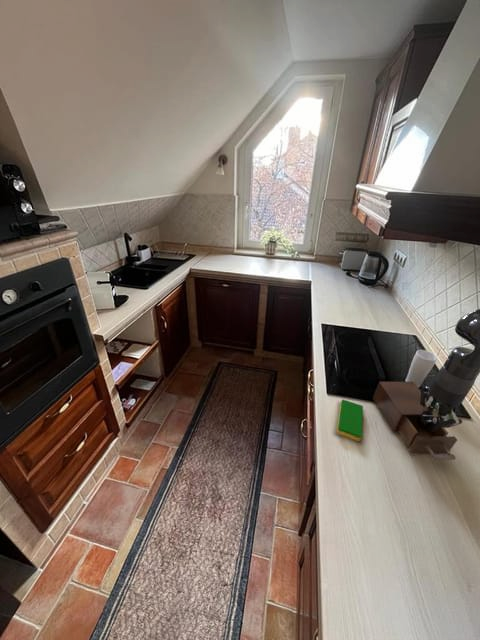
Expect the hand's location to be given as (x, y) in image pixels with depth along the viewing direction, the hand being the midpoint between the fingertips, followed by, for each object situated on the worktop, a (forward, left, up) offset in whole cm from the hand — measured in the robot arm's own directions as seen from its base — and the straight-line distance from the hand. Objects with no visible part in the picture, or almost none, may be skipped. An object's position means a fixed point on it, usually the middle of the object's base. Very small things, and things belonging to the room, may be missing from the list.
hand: (427, 424), depth 77 cm
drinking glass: (-14, -25, -8) cm, 30 cm away
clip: (0, 0, 0) cm, 0 cm away
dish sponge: (+19, -7, -8) cm, 22 cm away
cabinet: (0, -10, -8) cm, 13 cm away
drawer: (0, 0, -7) cm, 7 cm away
